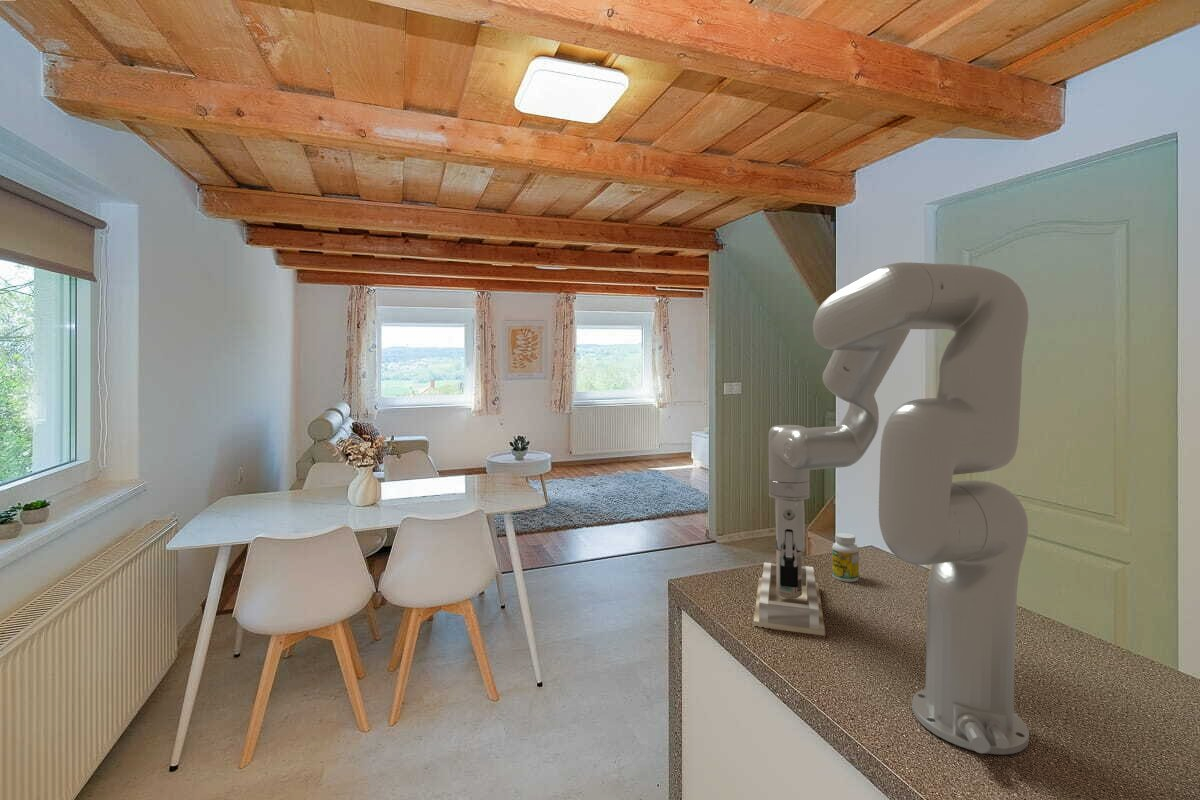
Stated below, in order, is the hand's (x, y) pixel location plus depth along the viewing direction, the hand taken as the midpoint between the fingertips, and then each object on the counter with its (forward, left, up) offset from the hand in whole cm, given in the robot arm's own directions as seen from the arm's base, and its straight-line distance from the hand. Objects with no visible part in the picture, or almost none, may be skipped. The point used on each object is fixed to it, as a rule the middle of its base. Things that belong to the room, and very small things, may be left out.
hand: (789, 580), depth 107 cm
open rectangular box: (0, 0, -5) cm, 5 cm away
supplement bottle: (+19, -12, -5) cm, 23 cm away
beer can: (0, 0, -3) cm, 3 cm away
